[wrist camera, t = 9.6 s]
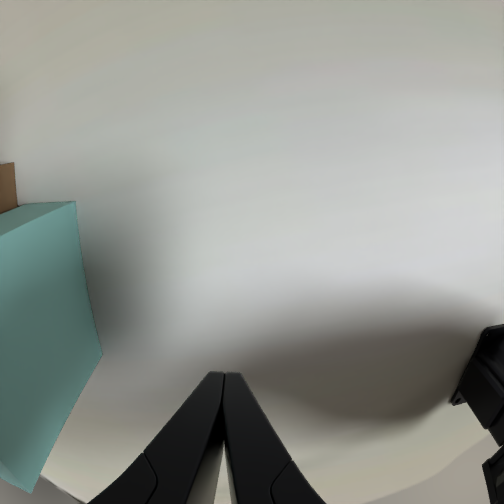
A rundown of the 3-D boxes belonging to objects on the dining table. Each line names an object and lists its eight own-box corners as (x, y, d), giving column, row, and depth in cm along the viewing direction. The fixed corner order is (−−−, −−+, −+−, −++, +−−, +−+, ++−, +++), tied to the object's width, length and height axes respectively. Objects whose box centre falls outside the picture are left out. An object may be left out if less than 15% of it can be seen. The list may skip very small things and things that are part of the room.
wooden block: (14, 162, 11) (-6, 166, 10) (59, 372, 15) (49, 387, 14) (-5, 166, 11) (-25, 170, 9) (41, 367, 15) (30, 382, 14)
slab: (75, 201, 12) (-92, 291, 3) (102, 354, 14) (31, 493, 6) (26, 203, 12) (-124, 280, 3) (57, 346, 14) (-22, 465, 6)
